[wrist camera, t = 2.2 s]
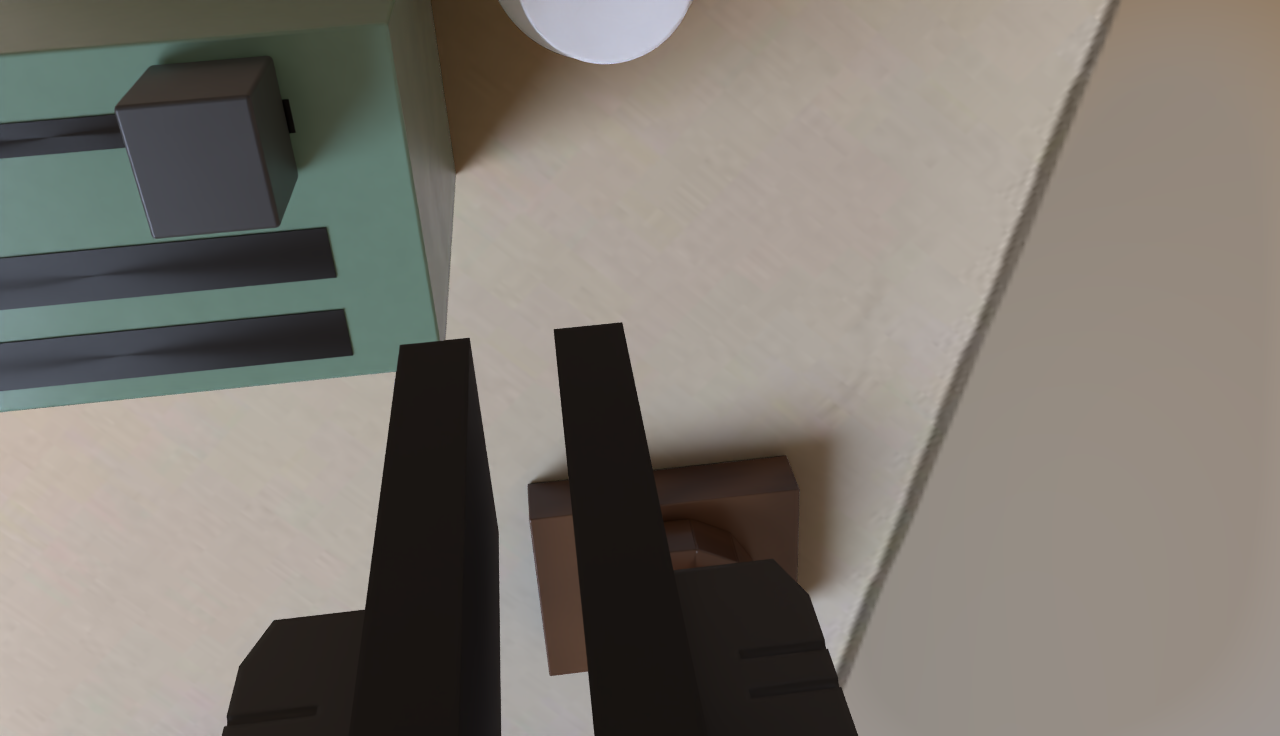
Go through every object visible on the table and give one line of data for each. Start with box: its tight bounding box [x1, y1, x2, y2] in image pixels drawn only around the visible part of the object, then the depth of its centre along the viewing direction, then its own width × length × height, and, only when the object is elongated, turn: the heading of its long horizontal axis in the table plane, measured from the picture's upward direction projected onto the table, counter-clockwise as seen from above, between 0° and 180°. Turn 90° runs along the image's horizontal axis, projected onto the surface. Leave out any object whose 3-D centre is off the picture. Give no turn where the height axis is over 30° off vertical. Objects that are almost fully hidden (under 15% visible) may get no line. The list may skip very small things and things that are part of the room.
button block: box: [528, 456, 799, 676], centre depth 44 cm, size 10×8×4 cm
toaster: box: [0, 0, 456, 412], centre depth 29 cm, size 14×8×12 cm, turn 93°
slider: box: [114, 56, 298, 239], centre depth 22 cm, size 2×3×3 cm
